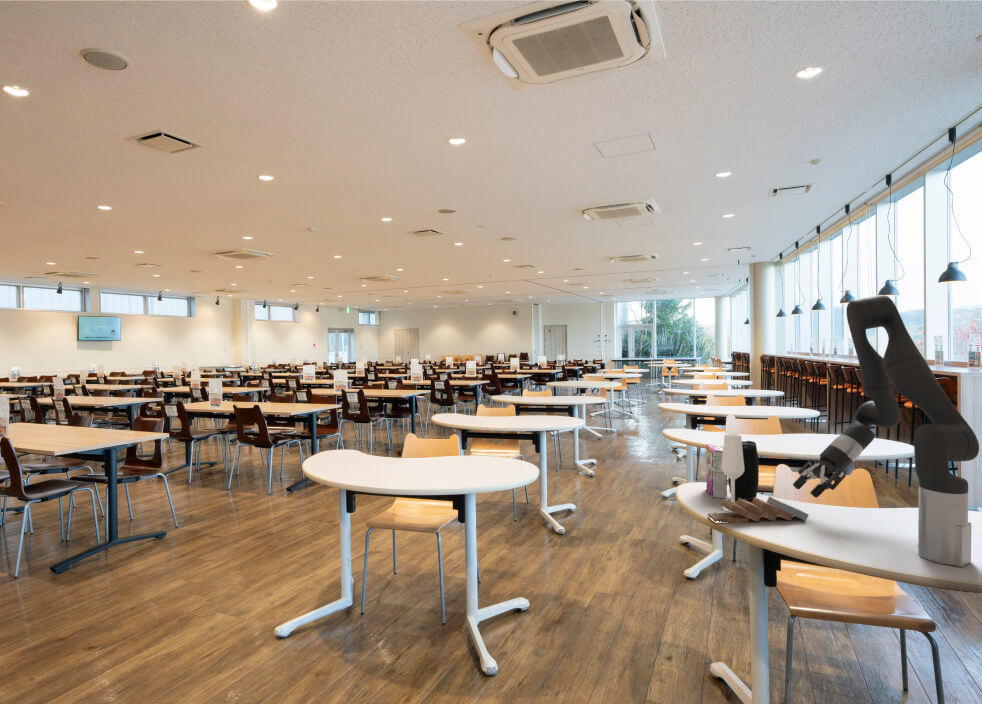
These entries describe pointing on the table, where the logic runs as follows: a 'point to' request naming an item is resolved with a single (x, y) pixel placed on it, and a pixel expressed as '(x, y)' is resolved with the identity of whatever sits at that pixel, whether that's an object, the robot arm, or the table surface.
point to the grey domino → (787, 508)
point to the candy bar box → (715, 471)
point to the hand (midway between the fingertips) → (804, 491)
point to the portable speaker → (748, 473)
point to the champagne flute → (732, 460)
